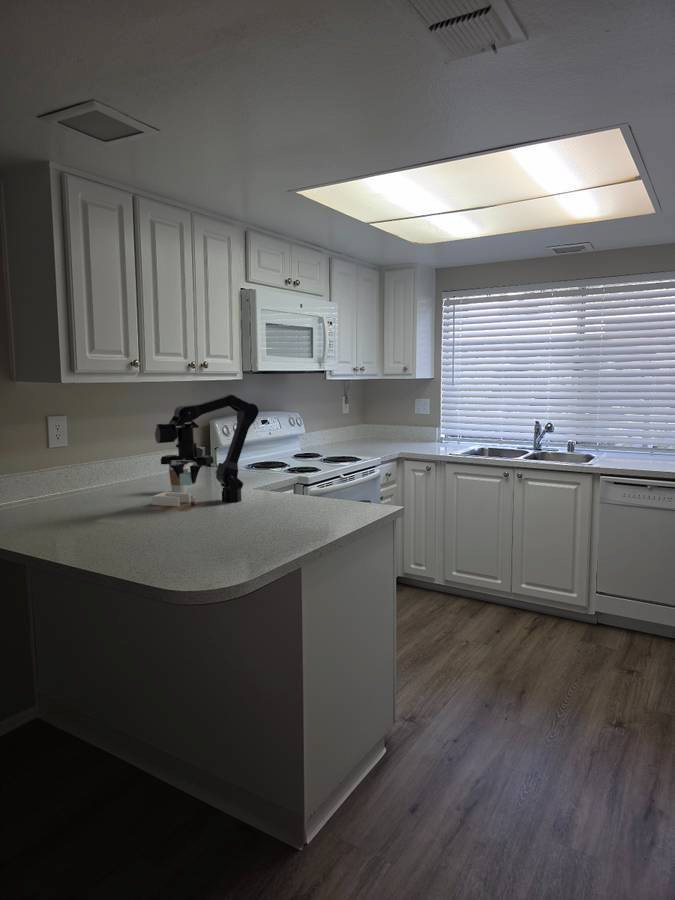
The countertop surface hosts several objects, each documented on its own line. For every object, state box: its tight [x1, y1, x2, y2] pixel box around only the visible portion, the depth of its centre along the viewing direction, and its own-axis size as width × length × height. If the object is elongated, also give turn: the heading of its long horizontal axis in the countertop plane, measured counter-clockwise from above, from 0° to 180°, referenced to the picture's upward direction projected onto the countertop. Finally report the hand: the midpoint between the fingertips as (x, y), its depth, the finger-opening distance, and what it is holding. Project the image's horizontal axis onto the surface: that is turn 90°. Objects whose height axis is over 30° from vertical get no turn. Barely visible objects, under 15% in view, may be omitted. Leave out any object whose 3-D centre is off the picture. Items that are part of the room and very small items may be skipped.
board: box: [143, 501, 208, 513], centre depth 228 cm, size 18×14×1 cm
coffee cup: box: [168, 462, 189, 493], centre depth 258 cm, size 8×8×15 cm
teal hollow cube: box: [179, 471, 197, 486], centre depth 225 cm, size 4×4×4 cm
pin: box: [190, 495, 196, 506], centre depth 229 cm, size 1×1×4 cm
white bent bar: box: [151, 491, 191, 506], centre depth 231 cm, size 11×8×3 cm
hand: (188, 483), depth 225 cm, fingers closed on teal hollow cube, 4 cm apart
